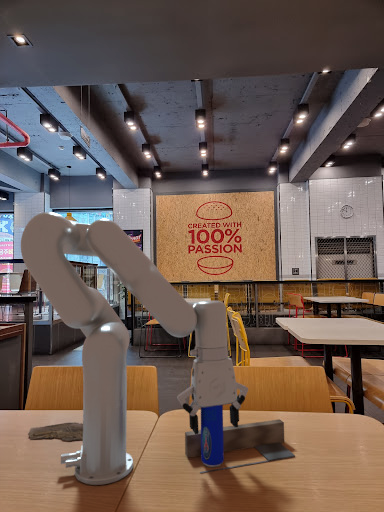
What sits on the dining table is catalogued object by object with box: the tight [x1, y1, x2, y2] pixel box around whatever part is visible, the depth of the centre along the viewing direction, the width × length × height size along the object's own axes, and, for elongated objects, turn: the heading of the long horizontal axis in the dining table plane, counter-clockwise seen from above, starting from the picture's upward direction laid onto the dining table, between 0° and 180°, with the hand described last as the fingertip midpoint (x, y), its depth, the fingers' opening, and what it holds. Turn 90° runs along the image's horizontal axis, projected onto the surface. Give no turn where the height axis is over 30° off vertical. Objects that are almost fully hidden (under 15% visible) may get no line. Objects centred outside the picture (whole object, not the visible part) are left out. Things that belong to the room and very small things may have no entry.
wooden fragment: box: [27, 421, 83, 442], centre depth 93 cm, size 26×11×1 cm, turn 83°
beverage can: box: [200, 405, 225, 468], centre depth 78 cm, size 5×5×15 cm
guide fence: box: [184, 419, 296, 474], centre depth 81 cm, size 26×9×5 cm, turn 106°
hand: (214, 428), depth 78 cm, fingers open, 9 cm apart
